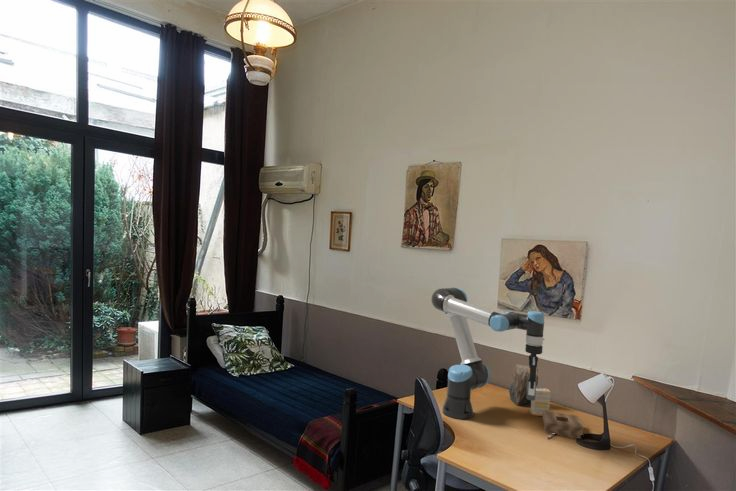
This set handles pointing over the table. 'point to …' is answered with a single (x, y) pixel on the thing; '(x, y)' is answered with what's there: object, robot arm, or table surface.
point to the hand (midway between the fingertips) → (531, 393)
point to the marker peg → (529, 397)
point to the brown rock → (520, 385)
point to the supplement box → (540, 402)
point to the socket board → (562, 424)
